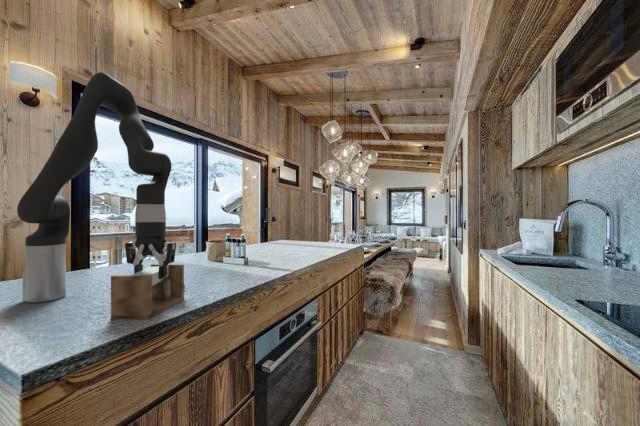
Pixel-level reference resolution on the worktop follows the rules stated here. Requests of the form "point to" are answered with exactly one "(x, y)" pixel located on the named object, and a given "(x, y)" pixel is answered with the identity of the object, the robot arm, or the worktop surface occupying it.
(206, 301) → the worktop surface
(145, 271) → the shelf board
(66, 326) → the worktop surface
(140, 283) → the peg cradle
